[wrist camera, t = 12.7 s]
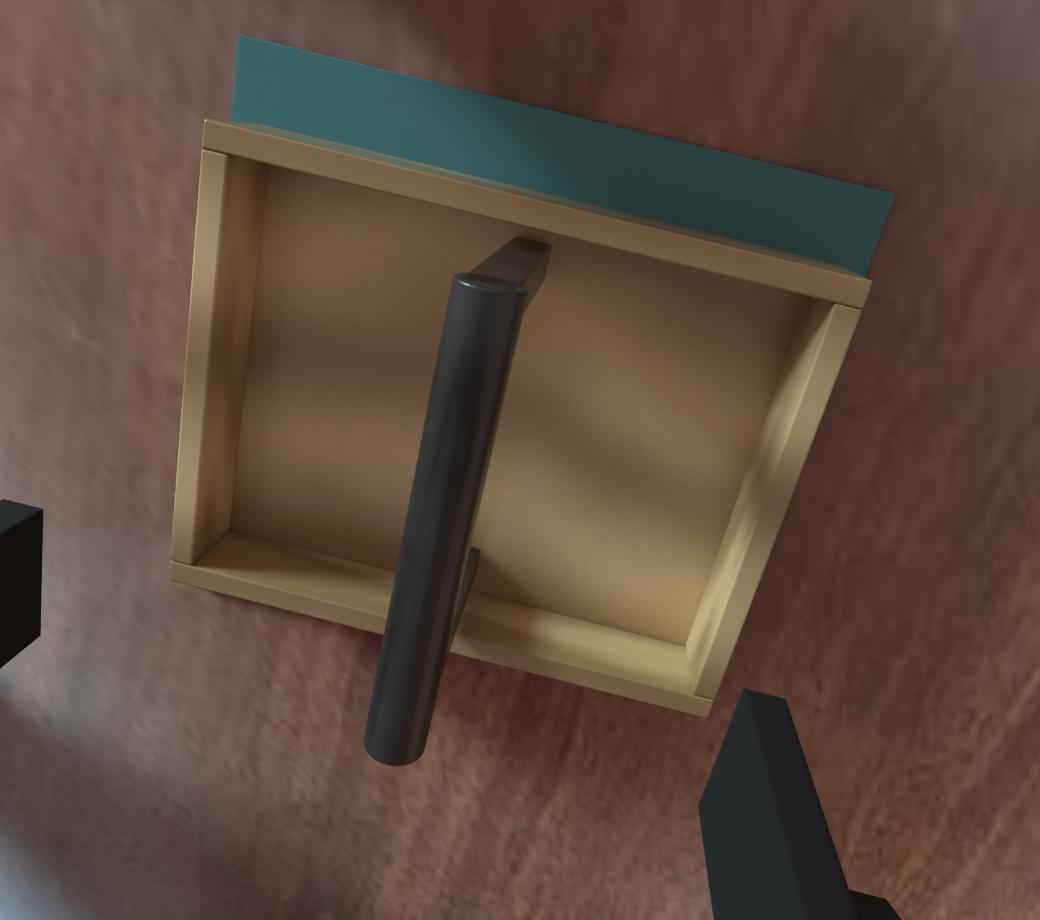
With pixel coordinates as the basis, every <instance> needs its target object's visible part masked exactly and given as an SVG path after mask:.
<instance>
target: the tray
mask: <svg viewBox="0 0 1040 920" xmlns="http://www.w3.org/2000/svg"><path fill="white" fill-rule="evenodd" d="M202 147H203V148H204V149H203V150H202V154H201V167H200V180H199V193H198V206H197V219H196V232H195V245H194V258H193V271H192V284H191V297H190V310H189V323H188V336H187V349H186V362H185V374H184V387H183V400H182V413H181V426H180V439H179V452H178V465H177V478H176V491H175V504H174V517H173V530H172V543H171V556H170V559H171V561H170V570H169V580H171V581H175V582H179V583H183V584H187V585H191V586H195V587H199V588H202V589H206V590H210V591H214V592H218V593H222V594H226V595H230V596H234V597H237V598H241V599H245V600H249V601H253V602H257V603H261V604H265V605H268V606H272V607H276V608H280V609H284V610H288V611H292V612H296V613H299V614H303V615H307V616H311V617H315V618H319V619H323V620H327V621H331V622H334V623H338V624H342V625H346V626H350V627H354V628H358V629H362V630H365V631H369V632H373V633H377V634H381V635H383V641H382V646H381V651H380V656H379V661H378V667H377V672H376V677H375V682H374V688H373V693H372V698H371V703H370V708H369V714H368V719H367V724H366V729H365V734H364V746H365V749H366V751H367V752H368V754H369V755H370V756H371V757H372V758H374V759H375V760H377V761H378V762H380V763H383V764H386V765H391V766H403V765H408V764H411V763H413V762H415V761H416V760H417V759H419V758H420V756H421V755H422V754H423V752H424V750H425V745H426V741H427V737H428V732H429V728H430V723H431V719H432V715H433V710H434V706H435V701H436V697H437V693H438V688H439V684H440V679H441V675H442V673H443V670H444V667H445V664H446V661H447V658H448V655H449V652H451V653H455V654H459V655H462V656H466V657H470V658H474V659H478V660H482V661H486V662H490V663H493V664H497V665H501V666H505V667H509V668H513V669H517V670H521V671H525V672H528V673H532V674H536V675H540V676H544V677H548V678H552V679H556V680H559V681H563V682H567V683H571V684H575V685H579V686H583V687H587V688H590V689H594V690H598V691H602V692H606V693H610V694H614V695H618V696H622V697H625V698H629V699H633V700H637V701H641V702H645V703H649V704H653V705H656V706H660V707H664V708H668V709H672V710H676V711H680V712H684V713H687V714H691V715H695V716H699V717H703V718H708V716H709V714H710V711H711V709H712V706H713V703H714V699H715V698H716V696H717V693H718V690H719V688H720V685H721V682H722V680H723V677H724V675H725V672H726V669H727V667H728V664H729V661H730V659H731V656H732V653H733V651H734V648H735V646H736V643H737V640H738V638H739V635H740V632H741V630H742V627H743V624H744V622H745V619H746V617H747V614H748V611H749V609H750V606H751V603H752V601H753V598H754V595H755V593H756V590H757V587H758V585H759V582H760V580H761V577H762V574H763V572H764V569H765V566H766V564H767V561H768V558H769V556H770V553H771V551H772V548H773V545H774V543H775V540H776V537H777V535H778V532H779V529H780V527H781V524H782V521H783V519H784V516H785V514H786V511H787V508H788V506H789V503H790V500H791V498H792V495H793V492H794V490H795V487H796V485H797V482H798V479H799V477H800V474H801V471H802V469H803V466H804V463H805V461H806V458H807V455H808V453H809V450H810V448H811V445H812V442H813V440H814V437H815V434H816V432H817V429H818V426H819V424H820V421H821V419H822V416H823V413H824V411H825V408H826V405H827V403H828V400H829V397H830V395H831V392H832V389H833V387H834V384H835V382H836V379H837V376H838V374H839V371H840V368H841V366H842V363H843V360H844V358H845V355H846V353H847V350H848V347H849V345H850V342H851V339H852V337H853V334H854V331H855V329H856V326H857V324H858V321H859V318H860V316H861V313H862V310H861V309H862V308H863V307H864V305H865V302H866V300H867V297H868V295H869V292H870V289H871V287H872V281H871V280H869V279H867V278H865V277H863V276H861V275H858V274H856V273H854V272H852V271H850V270H848V269H846V268H844V267H842V266H840V265H838V264H835V263H831V262H827V261H822V260H818V259H814V258H810V257H806V256H802V255H798V254H794V253H790V252H785V251H781V250H777V249H773V248H769V247H765V246H761V245H757V244H753V243H748V242H744V241H740V240H736V239H732V238H728V237H724V236H720V235H715V234H711V233H707V232H703V231H699V230H695V229H691V228H687V227H683V226H678V225H674V224H670V223H666V222H662V221H658V220H654V219H650V218H646V217H641V216H637V215H633V214H629V213H625V212H621V211H617V210H613V209H609V208H604V207H600V206H596V205H592V204H588V203H584V202H580V201H576V200H571V199H567V198H563V197H559V196H555V195H551V194H547V193H543V192H539V191H534V190H530V189H526V188H522V187H518V186H514V185H510V184H506V183H502V182H497V181H493V180H489V179H485V178H481V177H477V176H473V175H469V174H465V173H460V172H456V171H452V170H448V169H444V168H440V167H436V166H432V165H427V164H423V163H419V162H415V161H411V160H407V159H403V158H399V157H395V156H390V155H386V154H382V153H378V152H374V151H370V150H366V149H362V148H358V147H353V146H349V145H345V144H341V143H337V142H333V141H329V140H325V139H320V138H316V137H312V136H308V135H304V134H300V133H296V132H292V131H288V130H283V129H279V128H275V127H271V126H267V125H263V124H254V123H243V122H233V121H224V120H214V119H205V120H204V127H203V140H202Z"/></svg>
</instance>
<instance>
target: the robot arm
mask: <svg viewBox="0 0 1040 920" xmlns="http://www.w3.org/2000/svg"><path fill="white" fill-rule="evenodd" d="M42 543H43V509H40V508H36V507H33V506H29V505H25V504H21V503H17V502H13V501H9V500H5V499H2V500H0V668H1V667H3V666H4V665H5V664H6V663H7V662H9V661H10V660H11V659H12V658H14V657H15V656H16V655H17V654H18V653H20V652H21V651H22V650H23V649H25V648H26V647H27V646H28V645H29V644H31V643H32V642H33V641H34V640H36V639H37V638H38V637H39V636H40V631H41V587H42ZM698 808H699V815H700V822H701V829H702V837H703V844H704V851H705V858H706V865H707V873H708V880H709V887H710V894H711V901H712V909H713V916H714V920H901V918H900V917H899V916H898V914H897V913H896V912H895V910H894V909H893V908H892V906H891V905H890V904H889V902H888V901H887V900H886V899H883V898H879V897H875V896H871V895H868V894H864V893H860V892H856V891H852V890H849V888H848V885H847V882H846V879H845V876H844V873H843V870H842V867H841V864H840V861H839V858H838V855H837V852H836V849H835V846H834V843H833V840H832V837H831V834H830V831H829V828H828V825H827V822H826V819H825V816H824V813H823V810H822V807H821V804H820V801H819V798H818V795H817V792H816V789H815V786H814V783H813V780H812V777H811V774H810V771H809V768H808V765H807V762H806V759H805V756H804V753H803V750H802V747H801V744H800V741H799V738H798V735H797V732H796V729H795V726H794V723H793V720H792V717H791V714H790V711H789V708H788V705H787V702H786V699H784V698H780V697H776V696H772V695H768V694H764V693H760V692H756V691H752V690H748V689H743V692H742V695H741V697H740V700H739V702H738V705H737V707H736V710H735V713H734V715H733V718H732V720H731V723H730V725H729V728H728V731H727V733H726V736H725V738H724V741H723V743H722V746H721V749H720V751H719V754H718V756H717V759H716V762H715V764H714V767H713V769H712V772H711V774H710V777H709V780H708V782H707V785H706V787H705V790H704V792H703V795H702V798H701V800H700V803H699V805H698Z"/></svg>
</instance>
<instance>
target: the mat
mask: <svg viewBox="0 0 1040 920" xmlns="http://www.w3.org/2000/svg"><path fill="white" fill-rule="evenodd" d="M231 121H233V122H243V123H254V124H263V125H267V126H271V127H275V128H279V129H283V130H288V131H292V132H296V133H300V134H304V135H308V136H312V137H316V138H320V139H325V140H329V141H333V142H337V143H341V144H345V145H349V146H353V147H358V148H362V149H366V150H370V151H374V152H378V153H382V154H386V155H390V156H395V157H399V158H403V159H407V160H411V161H415V162H419V163H423V164H427V165H432V166H436V167H440V168H444V169H448V170H452V171H456V172H460V173H465V174H469V175H473V176H477V177H481V178H485V179H489V180H493V181H497V182H502V183H506V184H510V185H514V186H518V187H522V188H526V189H530V190H534V191H539V192H543V193H547V194H551V195H555V196H559V197H563V198H567V199H571V200H576V201H580V202H584V203H588V204H592V205H596V206H600V207H604V208H609V209H613V210H617V211H621V212H625V213H629V214H633V215H637V216H641V217H646V218H650V219H654V220H658V221H662V222H666V223H670V224H674V225H678V226H683V227H687V228H691V229H695V230H699V231H703V232H707V233H711V234H715V235H720V236H724V237H728V238H732V239H736V240H740V241H744V242H748V243H753V244H757V245H761V246H765V247H769V248H773V249H777V250H781V251H785V252H790V253H794V254H798V255H802V256H806V257H810V258H814V259H818V260H822V261H827V262H831V263H835V264H838V265H840V266H842V267H844V268H846V269H848V270H850V271H852V272H854V273H856V274H858V275H861V276H863V277H865V276H866V273H867V271H868V268H869V265H870V263H871V260H872V257H873V255H874V252H875V249H876V247H877V244H878V241H879V239H880V236H881V233H882V231H883V228H884V225H885V223H886V220H887V217H888V215H889V212H890V209H891V207H892V204H893V201H894V199H895V196H896V194H895V193H892V192H887V191H883V190H879V189H875V188H871V187H867V186H863V185H858V184H854V183H850V182H846V181H842V180H838V179H834V178H829V177H825V176H821V175H817V174H813V173H809V172H805V171H801V170H796V169H792V168H788V167H784V166H780V165H776V164H772V163H767V162H763V161H759V160H755V159H751V158H747V157H743V156H739V155H734V154H730V153H726V152H722V151H718V150H714V149H710V148H705V147H701V146H697V145H693V144H689V143H685V142H681V141H677V140H672V139H668V138H664V137H660V136H656V135H652V134H648V133H643V132H639V131H635V130H631V129H627V128H623V127H619V126H615V125H610V124H606V123H602V122H598V121H594V120H590V119H586V118H581V117H577V116H573V115H569V114H565V113H561V112H557V111H553V110H548V109H544V108H540V107H536V106H532V105H528V104H524V103H519V102H515V101H511V100H507V99H503V98H499V97H495V96H490V95H486V94H482V93H478V92H474V91H470V90H466V89H462V88H457V87H453V86H449V85H445V84H441V83H437V82H433V81H428V80H424V79H420V78H416V77H412V76H408V75H404V74H400V73H395V72H391V71H387V70H383V69H379V68H375V67H371V66H366V65H362V64H358V63H354V62H350V61H346V60H342V59H338V58H333V57H329V56H325V55H321V54H317V53H313V52H309V51H304V50H300V49H296V48H292V47H288V46H284V45H280V44H276V43H271V42H267V41H263V40H259V39H255V38H251V37H247V36H242V35H239V37H238V48H237V59H236V70H235V81H234V93H233V104H232V115H231Z"/></svg>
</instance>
